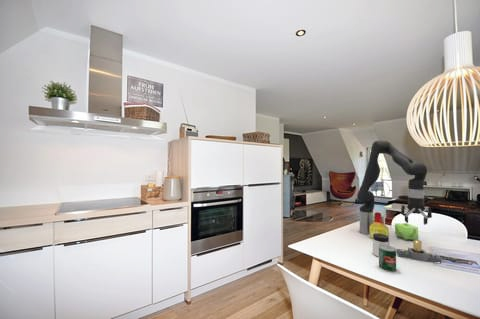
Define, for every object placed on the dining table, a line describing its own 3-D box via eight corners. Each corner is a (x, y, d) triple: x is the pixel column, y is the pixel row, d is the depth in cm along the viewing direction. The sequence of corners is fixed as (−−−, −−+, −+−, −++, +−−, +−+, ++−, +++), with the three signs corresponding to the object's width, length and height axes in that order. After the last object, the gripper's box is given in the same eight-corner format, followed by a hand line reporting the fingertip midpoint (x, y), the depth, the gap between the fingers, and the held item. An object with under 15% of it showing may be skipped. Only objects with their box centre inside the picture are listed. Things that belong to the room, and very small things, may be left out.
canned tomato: (390, 273, 112) (390, 252, 112) (375, 266, 119) (375, 246, 119) (399, 269, 115) (399, 249, 115) (384, 263, 122) (384, 244, 122)
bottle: (368, 238, 160) (368, 211, 160) (370, 236, 164) (370, 210, 164) (387, 243, 151) (387, 214, 151) (389, 240, 155) (389, 213, 155)
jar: (374, 257, 130) (374, 237, 130) (370, 251, 138) (370, 232, 138) (391, 259, 127) (391, 238, 127) (387, 253, 135) (386, 234, 135)
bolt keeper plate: (398, 257, 129) (398, 250, 129) (396, 252, 136) (396, 245, 136) (441, 264, 120) (441, 256, 120) (436, 258, 127) (436, 251, 127)
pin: (414, 258, 128) (414, 241, 128) (412, 255, 131) (412, 239, 131) (422, 259, 126) (422, 242, 126) (420, 257, 129) (420, 240, 129)
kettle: (417, 243, 149) (417, 227, 149) (392, 238, 159) (392, 223, 159) (419, 238, 160) (419, 223, 160) (396, 233, 170) (396, 219, 170)
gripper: (402, 196, 129) (402, 223, 130) (433, 198, 123) (433, 226, 123) (400, 194, 136) (400, 220, 136) (429, 196, 130) (429, 223, 130)
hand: (415, 223), depth 130 cm, fingers open, 8 cm apart
